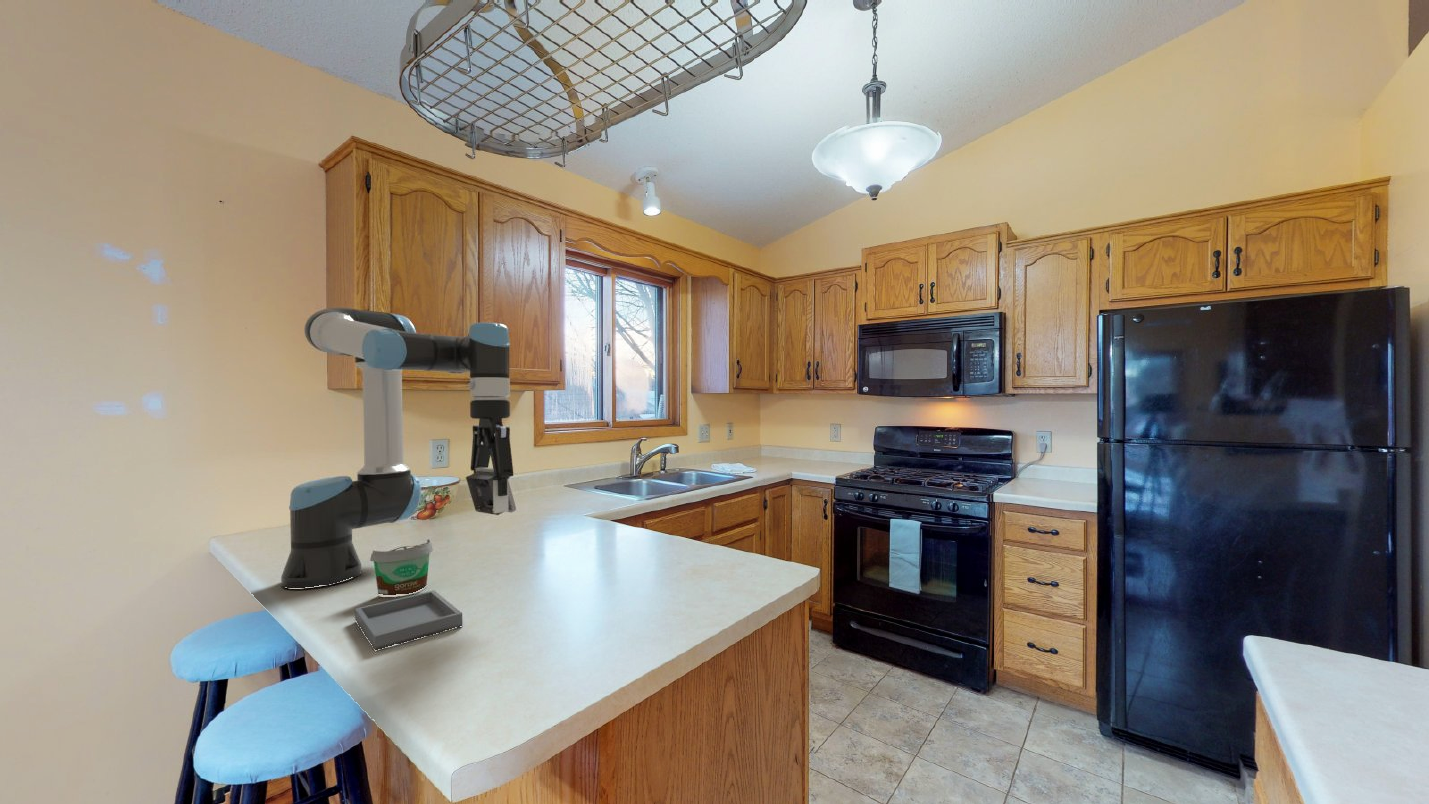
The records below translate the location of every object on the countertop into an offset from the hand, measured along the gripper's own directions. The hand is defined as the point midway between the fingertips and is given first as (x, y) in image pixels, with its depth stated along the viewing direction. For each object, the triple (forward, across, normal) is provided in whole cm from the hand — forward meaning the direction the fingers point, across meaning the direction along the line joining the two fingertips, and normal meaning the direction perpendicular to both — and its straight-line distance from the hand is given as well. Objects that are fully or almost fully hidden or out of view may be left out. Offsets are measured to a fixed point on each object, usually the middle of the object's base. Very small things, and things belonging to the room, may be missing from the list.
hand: (491, 508), depth 109 cm
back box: (+19, 0, -16) cm, 25 cm away
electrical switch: (+1, +1, 0) cm, 1 cm away
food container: (+19, -19, -11) cm, 29 cm away
